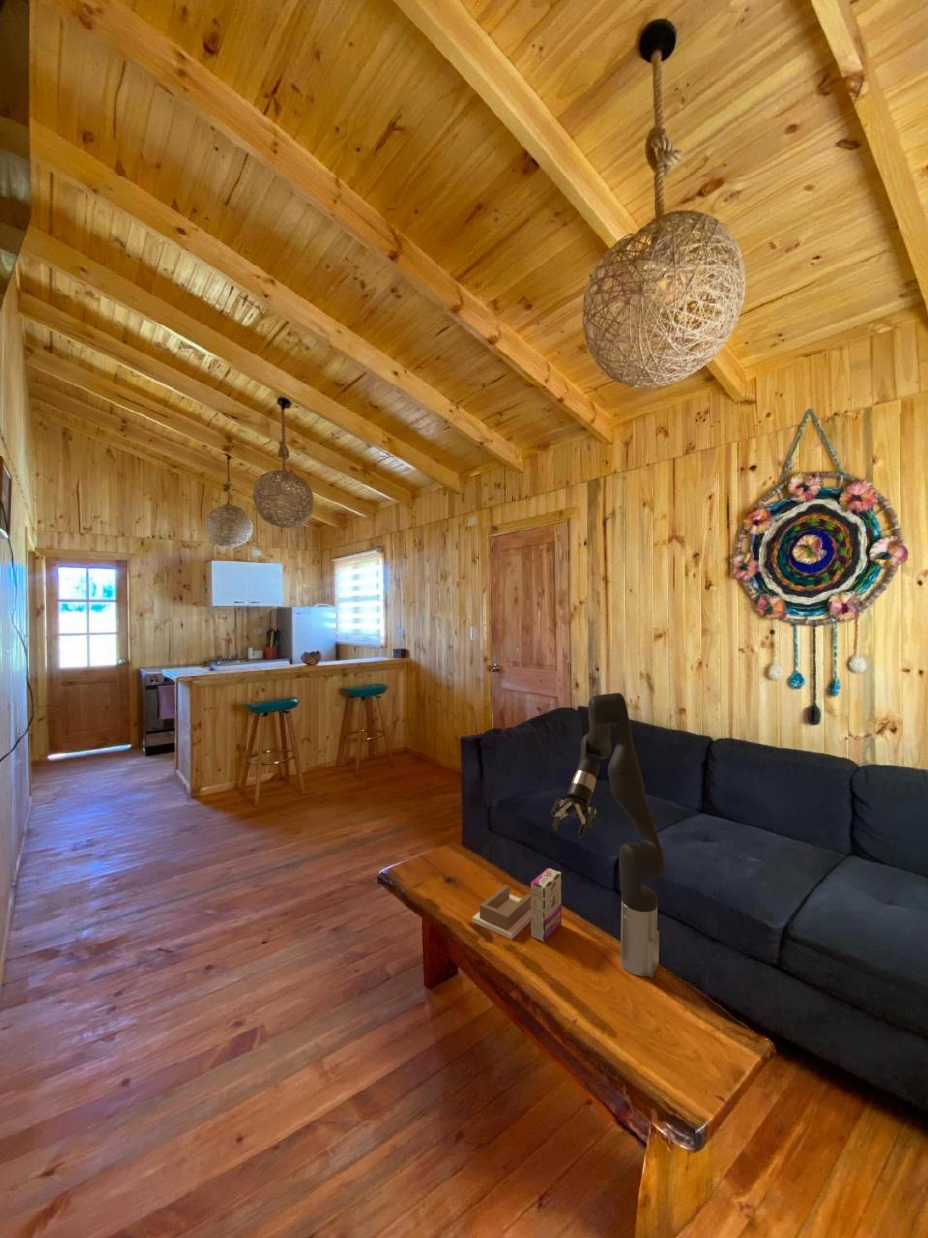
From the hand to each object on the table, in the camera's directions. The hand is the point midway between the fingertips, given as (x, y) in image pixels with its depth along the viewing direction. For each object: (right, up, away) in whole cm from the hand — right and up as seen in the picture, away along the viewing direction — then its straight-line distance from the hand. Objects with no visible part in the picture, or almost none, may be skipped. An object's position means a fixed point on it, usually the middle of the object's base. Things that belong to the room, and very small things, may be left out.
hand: (566, 833), depth 164 cm
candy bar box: (-8, -25, -10) cm, 29 cm away
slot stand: (-19, -25, -4) cm, 32 cm away
